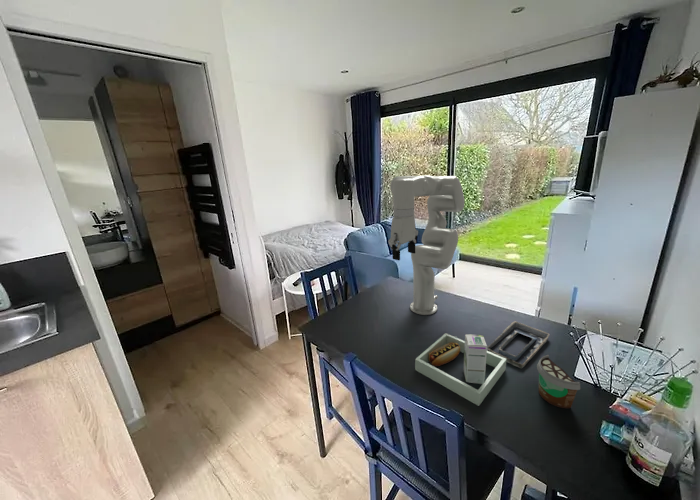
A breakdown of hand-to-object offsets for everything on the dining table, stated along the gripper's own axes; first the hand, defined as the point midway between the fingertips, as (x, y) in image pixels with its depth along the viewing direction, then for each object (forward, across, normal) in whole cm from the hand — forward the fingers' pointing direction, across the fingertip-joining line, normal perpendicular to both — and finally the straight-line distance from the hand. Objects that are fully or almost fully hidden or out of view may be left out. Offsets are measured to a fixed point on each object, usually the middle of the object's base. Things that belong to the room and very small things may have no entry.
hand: (404, 256), depth 112 cm
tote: (+33, +7, +28) cm, 44 cm away
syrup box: (+34, +7, +33) cm, 47 cm away
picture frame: (+34, -19, +37) cm, 54 cm away
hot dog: (+34, +6, +22) cm, 41 cm away
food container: (+34, 0, +52) cm, 62 cm away
